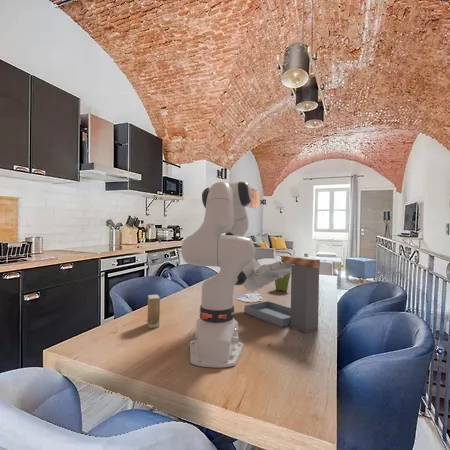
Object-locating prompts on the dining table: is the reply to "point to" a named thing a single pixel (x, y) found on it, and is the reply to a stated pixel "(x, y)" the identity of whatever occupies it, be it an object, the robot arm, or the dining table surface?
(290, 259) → the rectangular block
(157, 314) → the skincare box
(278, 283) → the plant pot
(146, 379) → the dining table surface
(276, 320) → the tray
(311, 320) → the post
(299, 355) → the dining table surface
